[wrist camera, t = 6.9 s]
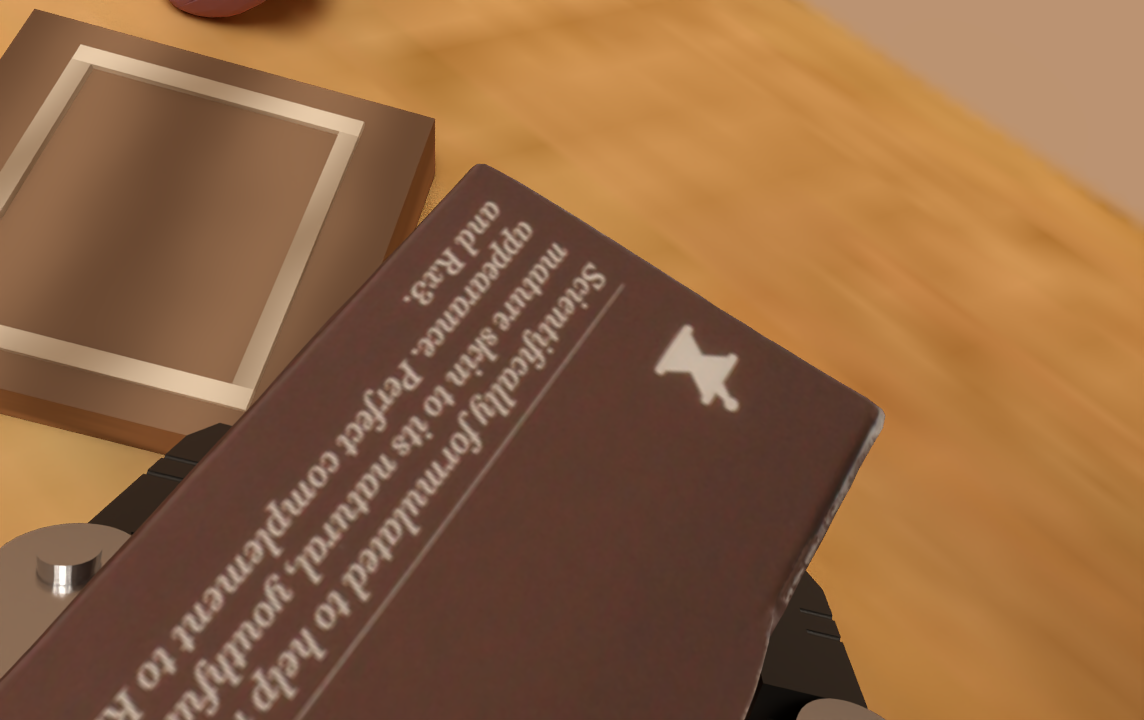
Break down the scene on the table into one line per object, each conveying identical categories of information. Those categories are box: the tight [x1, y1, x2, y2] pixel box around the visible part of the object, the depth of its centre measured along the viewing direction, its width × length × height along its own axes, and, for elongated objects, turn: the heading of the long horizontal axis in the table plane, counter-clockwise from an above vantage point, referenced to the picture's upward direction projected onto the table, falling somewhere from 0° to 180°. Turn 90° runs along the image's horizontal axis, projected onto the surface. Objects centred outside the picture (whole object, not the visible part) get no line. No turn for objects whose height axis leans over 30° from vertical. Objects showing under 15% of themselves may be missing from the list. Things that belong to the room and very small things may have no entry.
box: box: [0, 164, 885, 720], centre depth 11 cm, size 6×4×12 cm
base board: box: [0, 9, 435, 455], centre depth 25 cm, size 13×12×3 cm
